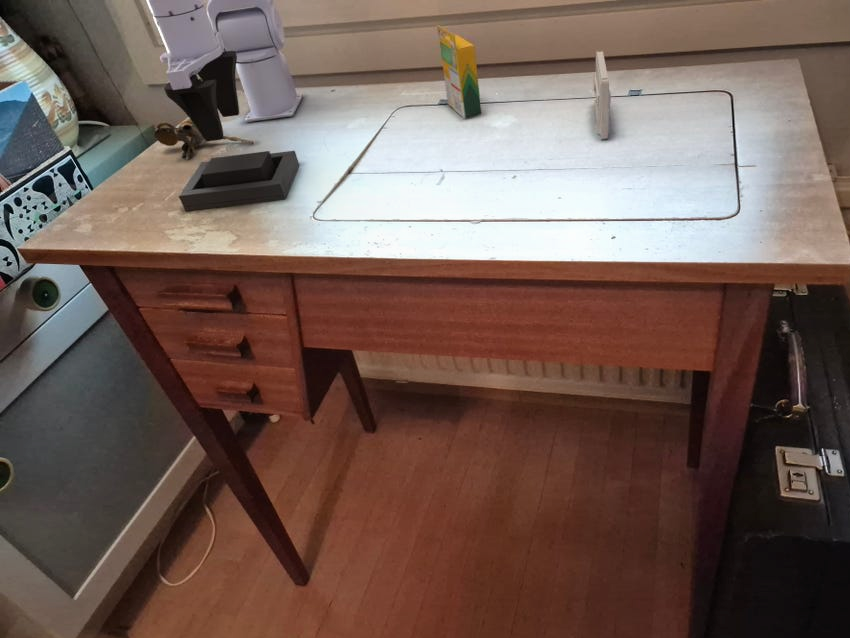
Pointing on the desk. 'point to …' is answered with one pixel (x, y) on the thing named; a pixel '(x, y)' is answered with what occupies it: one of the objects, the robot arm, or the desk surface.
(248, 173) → the dark grey block
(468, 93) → the crayon box
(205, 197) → the dark grey rectangular tray
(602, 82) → the cassette
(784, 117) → the desk surface
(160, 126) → the regulator
